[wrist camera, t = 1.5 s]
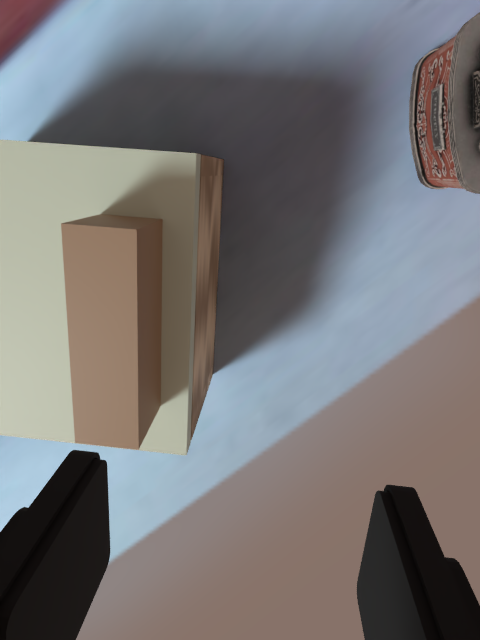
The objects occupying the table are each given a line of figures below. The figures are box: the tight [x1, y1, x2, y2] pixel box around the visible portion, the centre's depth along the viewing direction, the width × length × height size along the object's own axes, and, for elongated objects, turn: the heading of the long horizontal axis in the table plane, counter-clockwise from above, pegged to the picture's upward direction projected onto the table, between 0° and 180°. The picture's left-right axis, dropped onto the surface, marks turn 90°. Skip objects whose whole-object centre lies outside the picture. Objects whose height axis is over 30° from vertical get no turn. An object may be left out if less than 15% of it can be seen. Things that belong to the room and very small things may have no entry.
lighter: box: [409, 12, 480, 194], centre depth 23 cm, size 8×3×10 cm, turn 10°
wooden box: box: [191, 155, 224, 440], centre depth 28 cm, size 16×14×9 cm
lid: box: [0, 140, 201, 455], centre depth 21 cm, size 16×14×5 cm
